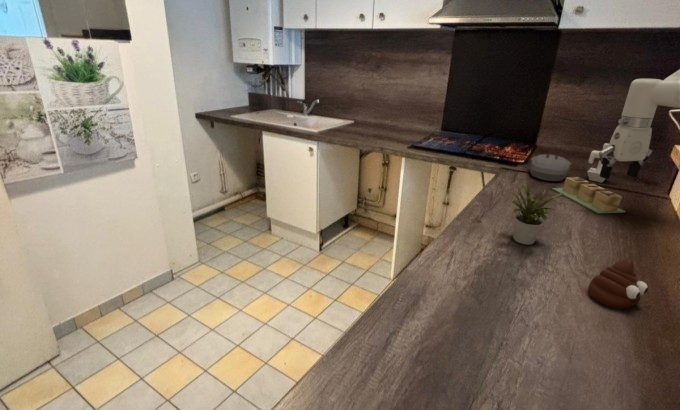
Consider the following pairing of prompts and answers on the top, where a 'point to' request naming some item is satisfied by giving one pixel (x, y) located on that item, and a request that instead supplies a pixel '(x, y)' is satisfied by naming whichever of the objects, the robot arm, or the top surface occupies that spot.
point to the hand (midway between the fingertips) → (617, 177)
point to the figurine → (593, 172)
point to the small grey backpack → (549, 167)
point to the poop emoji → (618, 285)
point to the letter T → (606, 201)
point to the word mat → (587, 205)
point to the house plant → (529, 216)
